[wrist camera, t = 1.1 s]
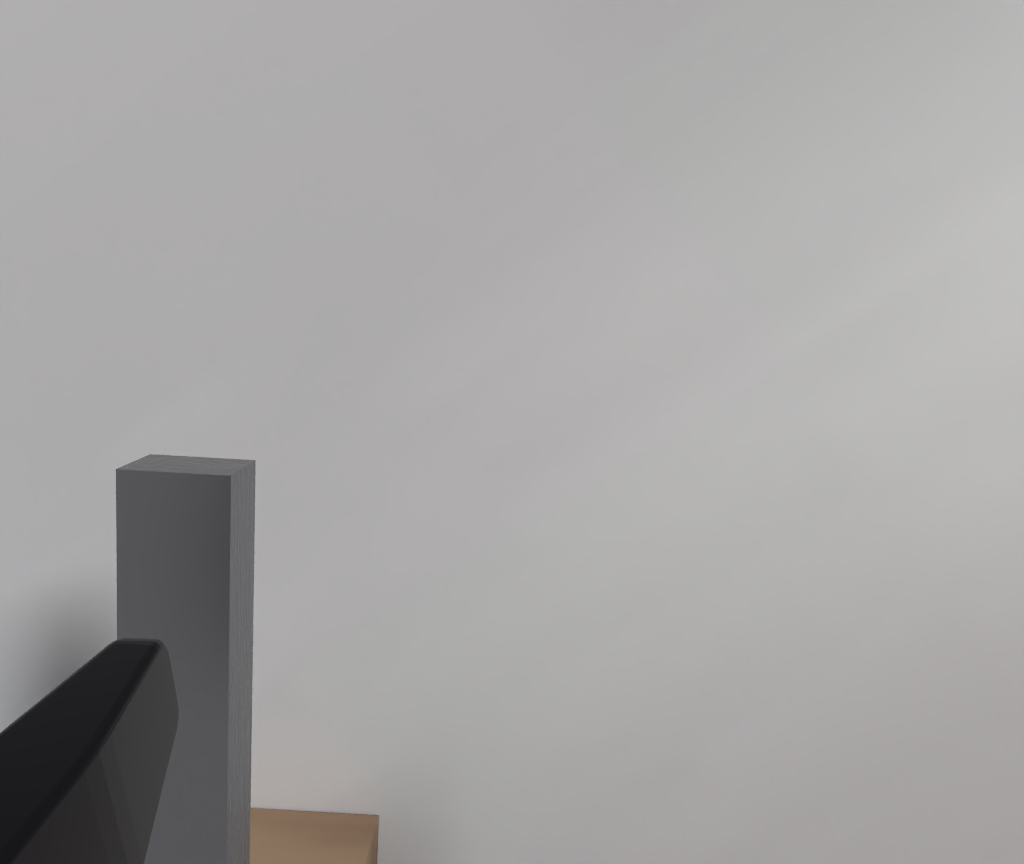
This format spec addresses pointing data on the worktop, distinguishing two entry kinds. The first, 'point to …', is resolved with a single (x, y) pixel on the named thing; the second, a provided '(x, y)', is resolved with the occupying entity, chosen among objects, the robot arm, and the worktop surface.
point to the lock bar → (195, 639)
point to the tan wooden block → (312, 837)
